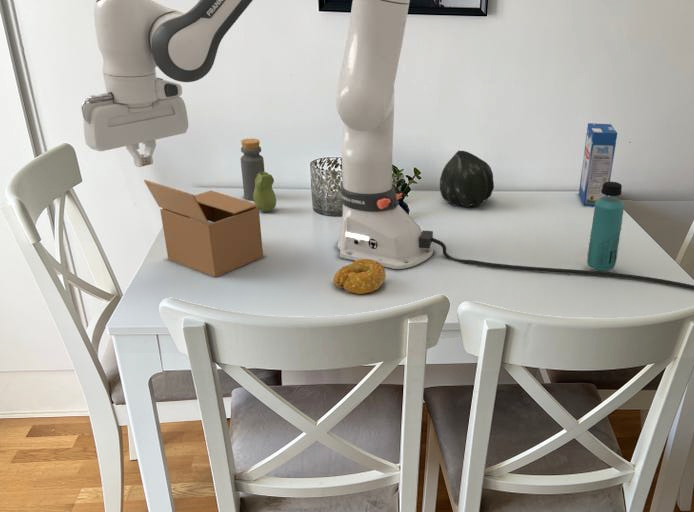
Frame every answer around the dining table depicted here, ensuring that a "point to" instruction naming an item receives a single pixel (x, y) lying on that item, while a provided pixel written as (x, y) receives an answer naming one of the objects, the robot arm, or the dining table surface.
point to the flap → (176, 201)
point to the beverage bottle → (606, 228)
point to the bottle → (250, 165)
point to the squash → (466, 180)
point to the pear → (264, 192)
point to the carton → (214, 234)
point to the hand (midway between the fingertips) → (144, 165)
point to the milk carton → (597, 162)
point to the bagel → (360, 276)
